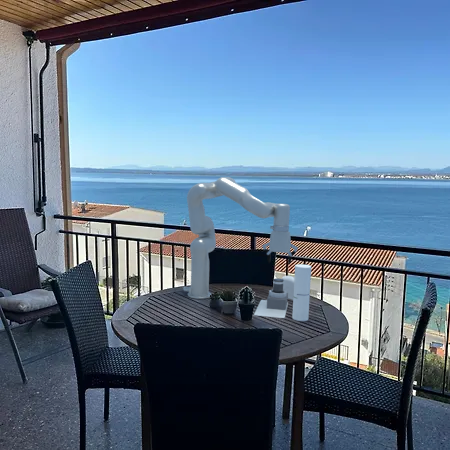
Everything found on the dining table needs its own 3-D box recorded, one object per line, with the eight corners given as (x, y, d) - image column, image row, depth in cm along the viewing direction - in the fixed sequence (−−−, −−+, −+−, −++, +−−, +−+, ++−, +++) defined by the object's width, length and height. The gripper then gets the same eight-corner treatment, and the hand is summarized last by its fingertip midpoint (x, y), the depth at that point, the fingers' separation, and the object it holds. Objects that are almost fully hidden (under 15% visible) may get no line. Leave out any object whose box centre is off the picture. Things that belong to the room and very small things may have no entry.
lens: (272, 296, 208) (272, 280, 207) (273, 293, 213) (273, 277, 212) (282, 297, 207) (283, 280, 206) (283, 294, 212) (284, 278, 211)
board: (253, 316, 194) (253, 315, 194) (261, 301, 220) (261, 299, 220) (284, 319, 191) (284, 318, 191) (288, 303, 217) (288, 302, 217)
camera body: (266, 308, 205) (267, 294, 204) (269, 300, 219) (270, 287, 218) (285, 310, 203) (286, 296, 202) (287, 302, 217) (288, 288, 216)
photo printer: (279, 297, 228) (280, 274, 227) (285, 296, 231) (286, 274, 229) (294, 302, 220) (295, 278, 219) (299, 300, 223) (300, 277, 221)
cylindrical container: (304, 323, 187) (307, 268, 184) (289, 320, 191) (292, 266, 188) (310, 319, 193) (313, 265, 190) (295, 316, 197) (298, 263, 194)
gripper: (262, 228, 205) (260, 263, 207) (298, 230, 201) (296, 266, 203) (264, 227, 212) (262, 260, 214) (299, 229, 208) (297, 263, 210)
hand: (279, 263), depth 209 cm, fingers open, 9 cm apart
